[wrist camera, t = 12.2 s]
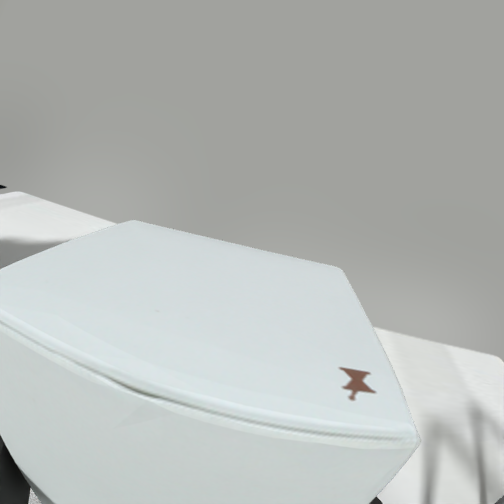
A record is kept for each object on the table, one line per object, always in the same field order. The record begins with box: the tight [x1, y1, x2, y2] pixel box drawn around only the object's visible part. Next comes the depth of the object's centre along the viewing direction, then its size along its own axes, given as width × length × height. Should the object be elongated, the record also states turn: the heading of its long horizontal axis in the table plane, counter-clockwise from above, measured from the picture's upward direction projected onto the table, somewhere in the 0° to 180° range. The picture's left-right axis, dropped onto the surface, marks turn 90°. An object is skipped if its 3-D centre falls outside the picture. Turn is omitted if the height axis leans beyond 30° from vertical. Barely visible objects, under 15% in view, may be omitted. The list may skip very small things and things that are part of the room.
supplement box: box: [0, 220, 421, 504], centre depth 8 cm, size 7×7×13 cm
